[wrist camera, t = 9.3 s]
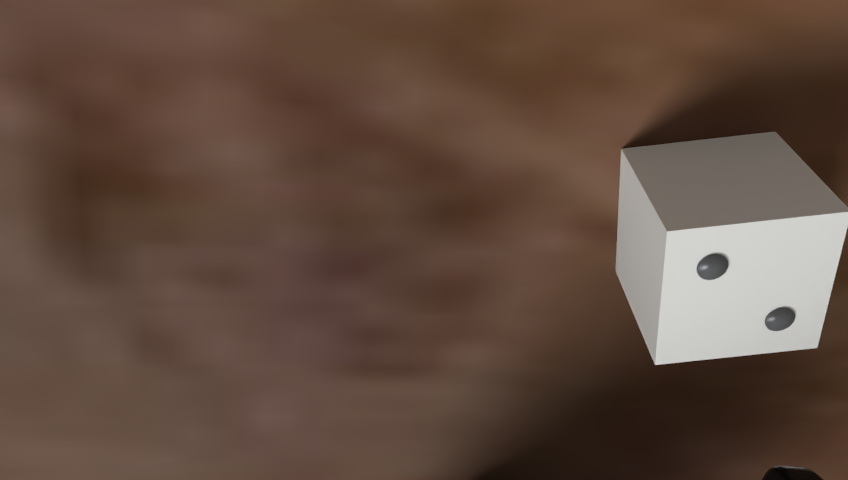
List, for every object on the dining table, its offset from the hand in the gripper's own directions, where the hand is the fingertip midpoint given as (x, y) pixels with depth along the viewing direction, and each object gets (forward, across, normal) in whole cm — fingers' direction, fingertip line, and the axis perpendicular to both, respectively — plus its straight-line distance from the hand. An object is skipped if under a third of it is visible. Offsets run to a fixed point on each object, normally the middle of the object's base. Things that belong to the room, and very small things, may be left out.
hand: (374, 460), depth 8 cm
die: (+12, -9, +3) cm, 15 cm away
